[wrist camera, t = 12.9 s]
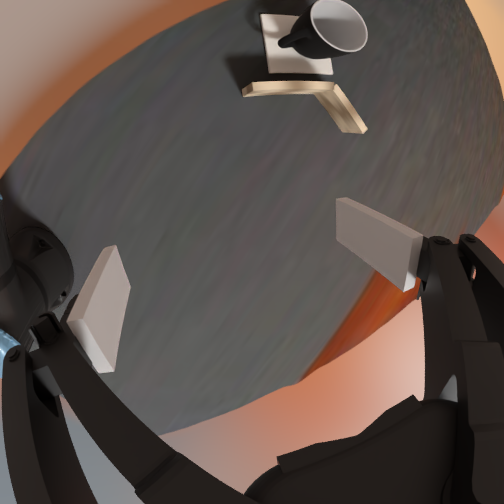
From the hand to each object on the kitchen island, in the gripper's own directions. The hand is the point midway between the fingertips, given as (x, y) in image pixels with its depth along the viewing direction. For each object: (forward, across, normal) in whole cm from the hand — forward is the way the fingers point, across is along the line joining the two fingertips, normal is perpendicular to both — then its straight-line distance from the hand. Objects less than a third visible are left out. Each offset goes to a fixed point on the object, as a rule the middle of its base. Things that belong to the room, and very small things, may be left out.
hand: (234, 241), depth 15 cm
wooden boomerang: (+27, +17, +8) cm, 33 cm away
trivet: (+27, +18, +20) cm, 38 cm away
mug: (+26, +18, +20) cm, 38 cm away
